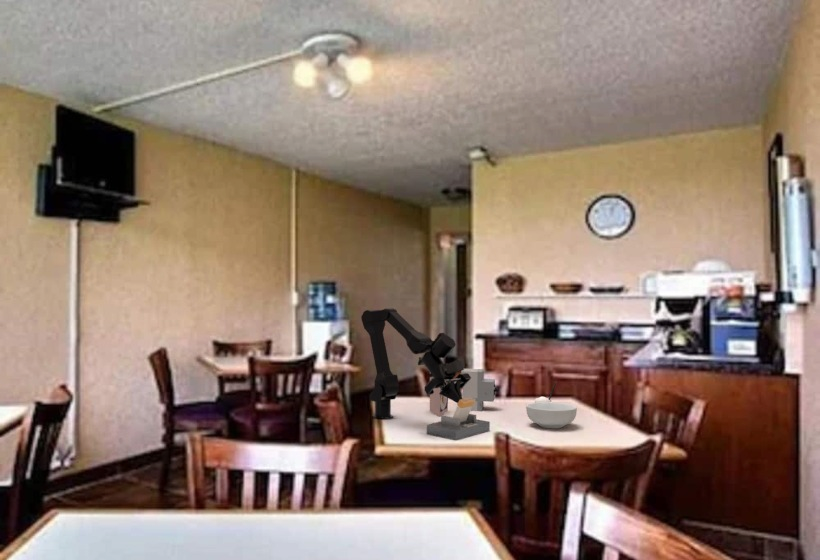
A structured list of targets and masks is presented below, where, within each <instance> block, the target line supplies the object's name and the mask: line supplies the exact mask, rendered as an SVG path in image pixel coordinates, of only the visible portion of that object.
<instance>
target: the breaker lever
mask: <svg viewBox="0 0 820 560" xmlns="http://www.w3.org/2000/svg"><path fill="white" fill-rule="evenodd" d="M474 402H475V400H474V399H472V398H466V399H461V400H459V402H458V403H456V404H457V406H456V409H455V411H454V413H453V415H452V417H453V418H458V419H460V422H463V421H466V420H467V417H468V415H469V414H471V411H470V410H471V408H472V406H473V405H474Z"/></svg>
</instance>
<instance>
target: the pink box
mask: <svg viewBox="0 0 820 560" xmlns="http://www.w3.org/2000/svg"><path fill="white" fill-rule="evenodd" d="M432 378H433V377H432ZM432 378H430V377H429V381H430V380H431V379H432ZM433 390H434V393H433V394H431V395H429V412H431V413H432V414H433V415H436V416H437V417H438V418H441V416H444V414H446V413H447V412H448V411H449V407H448V406H449V404H448V403H449V398H447V397H445V396H443V395H440V394H439V393H440V392H441V390H440V388H434V389H433Z"/></svg>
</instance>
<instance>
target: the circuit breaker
mask: <svg viewBox="0 0 820 560" xmlns="http://www.w3.org/2000/svg"><path fill="white" fill-rule="evenodd" d="M484 371H485V370H484V368H464V370H461V371H460V374H462V373H468V374H469V375H470V377H471V379H470V380H469V381H468V382H467V384H466V385H465V386H464V387H463V388H462V394H461V395H462V399H466V398H472V399H474V400H475V402H474V405H473V406H472V408H471V410H470V412H471V411H473V412H482V411H483V409H484V404H485V403H484V402H486V403H487V402H488V403H489V402H495V401H494V400H495V399H496V393H498V392H499V391H500V388H499V387H496V379H495V378H485V375H484V373H485V372H484Z"/></svg>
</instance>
